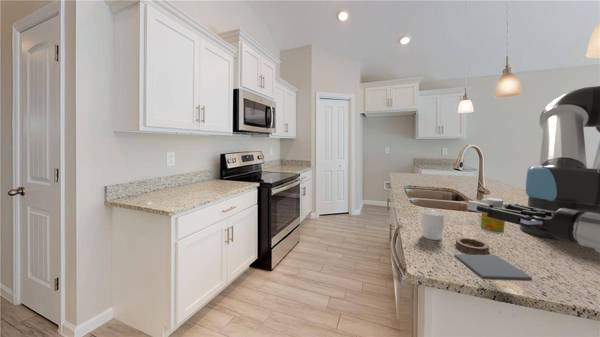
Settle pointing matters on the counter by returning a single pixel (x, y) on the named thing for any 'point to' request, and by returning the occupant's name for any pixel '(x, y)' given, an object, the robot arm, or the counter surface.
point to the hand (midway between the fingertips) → (475, 204)
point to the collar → (481, 248)
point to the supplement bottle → (491, 223)
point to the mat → (492, 267)
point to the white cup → (432, 224)
